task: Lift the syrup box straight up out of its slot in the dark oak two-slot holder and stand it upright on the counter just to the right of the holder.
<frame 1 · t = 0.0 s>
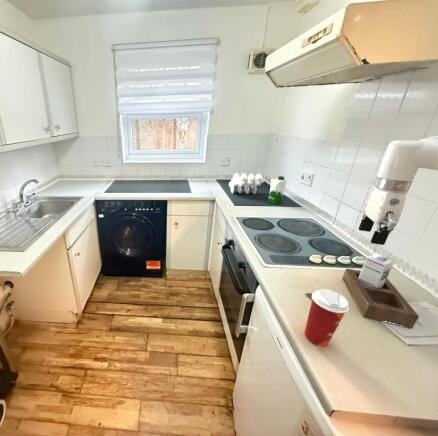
hand: (370, 236, 76), 25 cm above the worktop, tool pointing down, fingers open, 9 cm apart
syrup box: (366, 291, 89), resting in holder
coffee cup: (315, 337, 70), on the worktop
white lumpy cluster: (243, 193, 205), on the worktop
meat cleaver: (315, 304, 83), on the worktop
holder: (372, 300, 84), on the worktop
milk carton: (273, 202, 182), on the worktop
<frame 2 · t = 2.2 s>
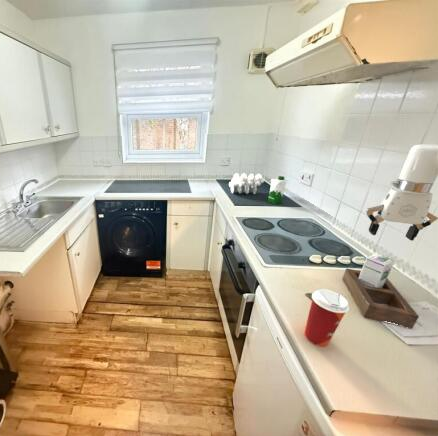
hand: (390, 236, 79), 23 cm above the worktop, tool pointing down, fingers open, 9 cm apart
nothing on the worktop moved.
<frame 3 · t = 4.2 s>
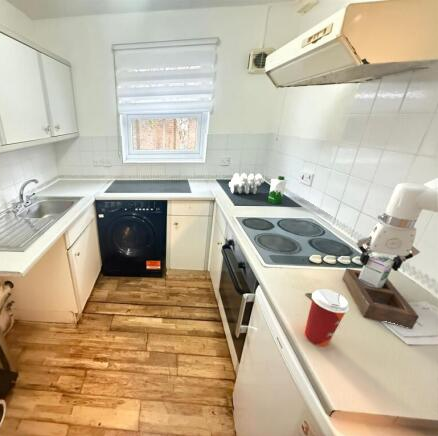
hand: (377, 265, 84), 11 cm above the worktop, tool pointing down, fingers closed on syrup box, 8 cm apart
syrup box: (366, 291, 89), resting in holder, touching gripper
everything else where it was.
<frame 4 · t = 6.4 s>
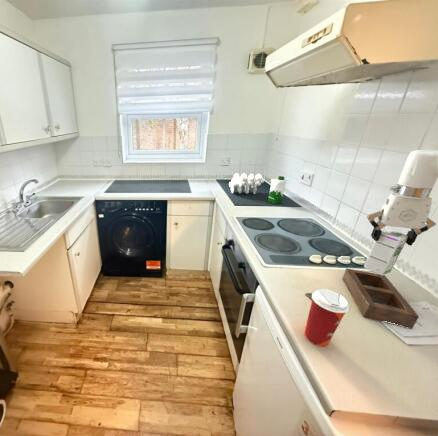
hand: (390, 241, 80), 21 cm above the worktop, tool pointing down, fingers closed on syrup box, 8 cm apart
syrup box: (375, 270, 85), point 10 cm above the worktop, touching gripper
everything else where it was.
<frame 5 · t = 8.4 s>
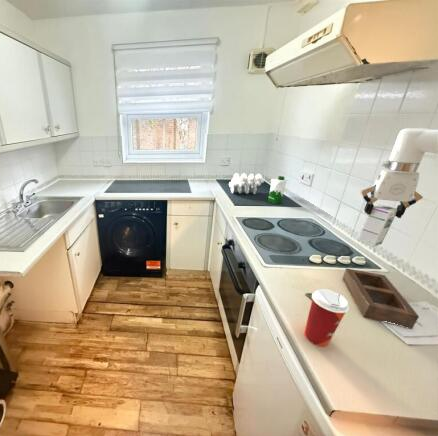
hand: (382, 214, 87), 27 cm above the worktop, tool pointing down, fingers closed on syrup box, 8 cm apart
syrup box: (368, 242, 92), point 15 cm above the worktop, touching gripper
everything else where it was.
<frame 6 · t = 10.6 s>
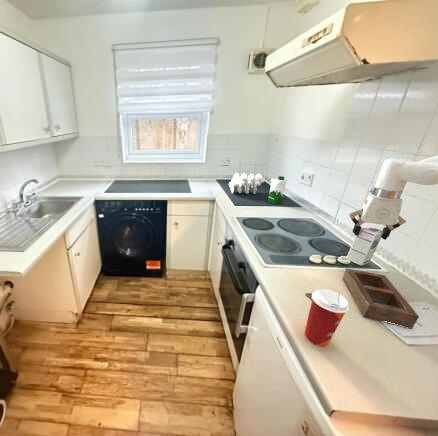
hand: (369, 236, 93), 17 cm above the worktop, tool pointing down, fingers closed on syrup box, 8 cm apart
syrup box: (356, 261, 98), point 5 cm above the worktop, touching gripper
everything else where it was.
when the fingers open (12 cm above the worktop, at t = 12.5 s): syrup box stays where it is, on the worktop.
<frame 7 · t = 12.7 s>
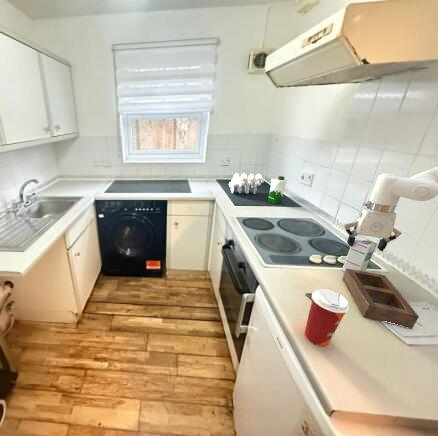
hand: (364, 247, 95), 12 cm above the worktop, tool pointing down, fingers open, 9 cm apart
syrup box: (352, 272, 100), on the worktop, touching gripper
everything else where it was.
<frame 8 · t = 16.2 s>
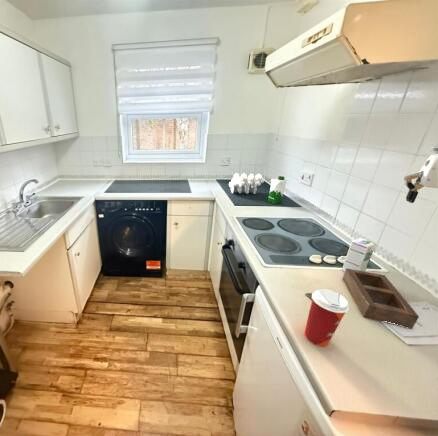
hand: (428, 203, 80), 33 cm above the worktop, tool pointing down, fingers open, 9 cm apart
syrup box: (352, 272, 100), on the worktop
everything else where it was.
at the end: syrup box inside the target area (0.7 cm from its centre), on the worktop; syrup box tilted 0°; syrup box touching worktop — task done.
